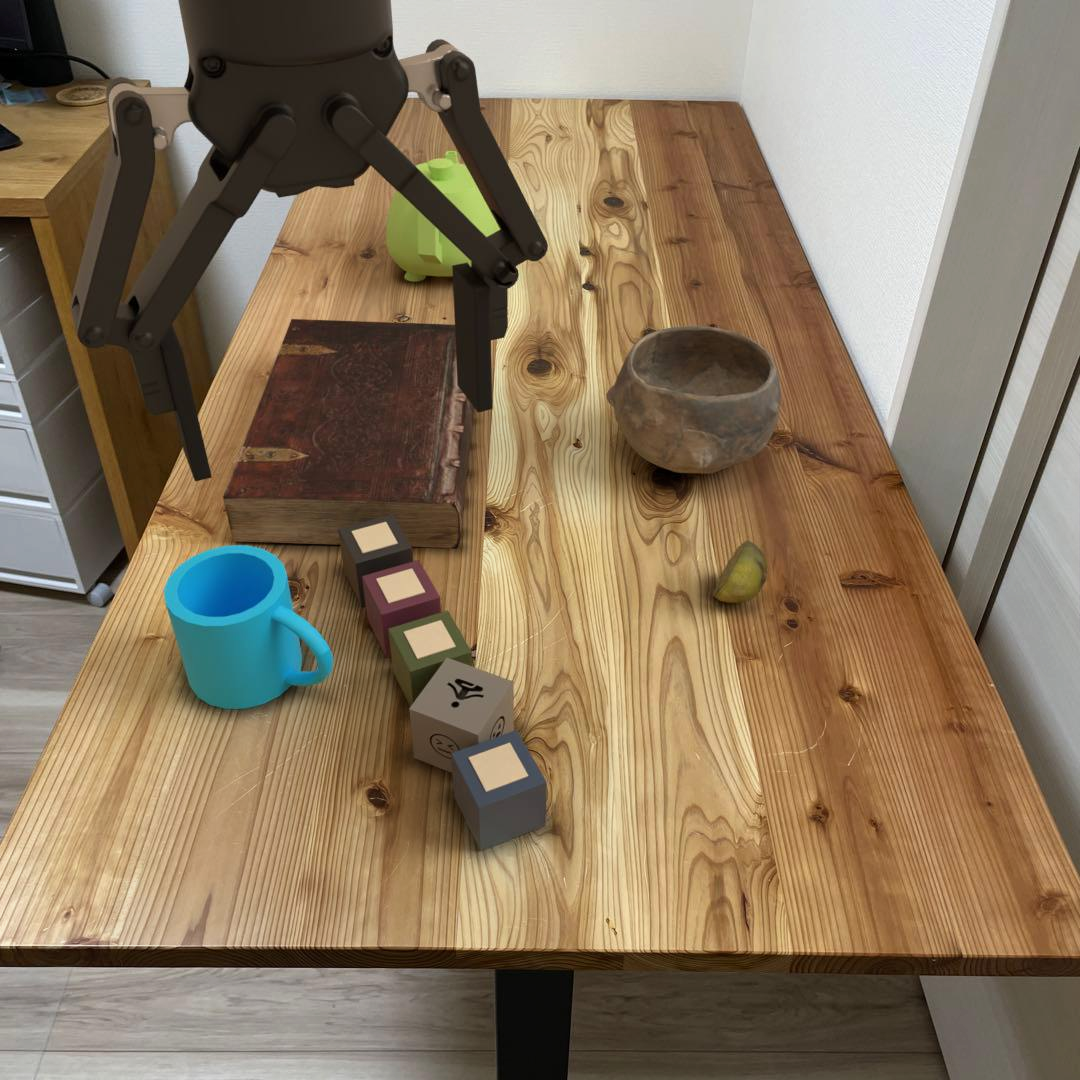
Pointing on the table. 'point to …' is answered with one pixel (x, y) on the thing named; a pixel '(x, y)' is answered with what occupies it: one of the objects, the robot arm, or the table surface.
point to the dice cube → (459, 712)
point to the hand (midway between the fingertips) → (342, 429)
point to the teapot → (418, 238)
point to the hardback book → (355, 436)
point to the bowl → (696, 398)
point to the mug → (240, 628)
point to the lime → (742, 575)
